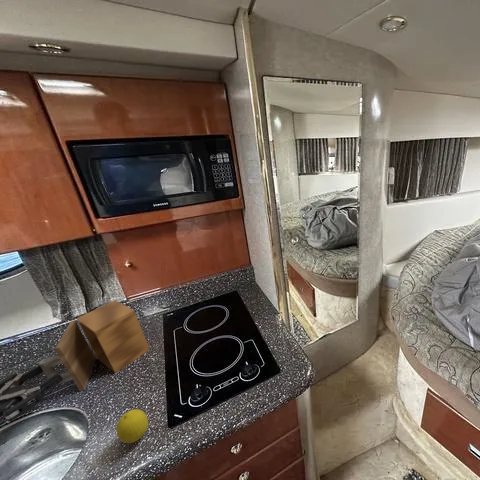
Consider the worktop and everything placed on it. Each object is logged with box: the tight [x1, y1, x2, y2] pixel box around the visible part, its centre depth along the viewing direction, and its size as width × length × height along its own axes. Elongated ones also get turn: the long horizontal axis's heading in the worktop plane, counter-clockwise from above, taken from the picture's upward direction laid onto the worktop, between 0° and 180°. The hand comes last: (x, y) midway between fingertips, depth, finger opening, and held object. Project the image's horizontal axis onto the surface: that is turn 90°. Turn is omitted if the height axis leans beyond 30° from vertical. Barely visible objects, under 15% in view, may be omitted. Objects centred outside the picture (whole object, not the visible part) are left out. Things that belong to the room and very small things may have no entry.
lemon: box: [116, 408, 149, 444], centre depth 56 cm, size 6×6×8 cm
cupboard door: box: [38, 319, 97, 392], centre depth 70 cm, size 6×12×16 cm, turn 28°
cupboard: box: [76, 299, 151, 374], centre depth 78 cm, size 10×12×16 cm
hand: (52, 371), depth 66 cm, fingers open, 8 cm apart
